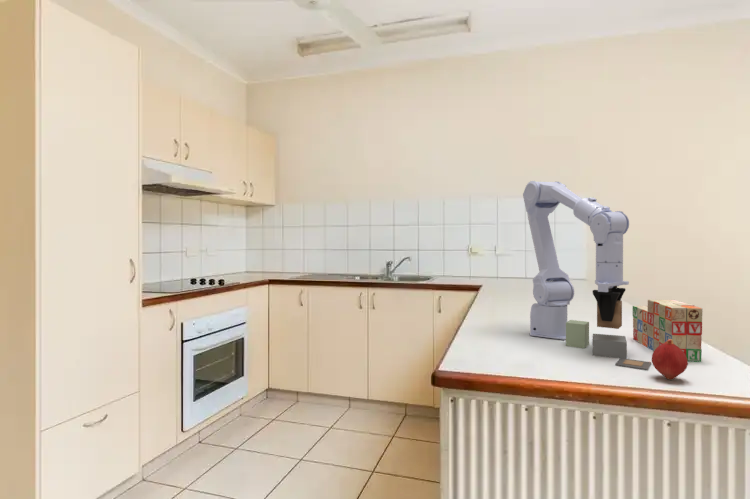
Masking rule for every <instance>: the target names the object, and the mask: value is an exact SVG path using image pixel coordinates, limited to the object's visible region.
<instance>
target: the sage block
mask: <svg viewBox="0 0 750 499" xmlns="http://www.w3.org/2000/svg"><path fill="white" fill-rule="evenodd" d="M565 346H566V347H571V348H579V349H586V348H588V346H590V321H586V320H585V321H583V320H576V319H570V320H567V322H566V339H565Z"/></svg>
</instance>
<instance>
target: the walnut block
mask: <svg viewBox="0 0 750 499" xmlns="http://www.w3.org/2000/svg"><path fill="white" fill-rule="evenodd" d="M622 326H623V301H622V300H621V301H618V300H617V302H616V305H615V310H614V316H613V320H612V321H602V319H601V315H600V311H599V307H598V303H597V302H596V327H597V328H607V329H614V330H615V329H616V330H619V329H620V328H621V327H622Z"/></svg>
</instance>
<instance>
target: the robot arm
mask: <svg viewBox="0 0 750 499" xmlns="http://www.w3.org/2000/svg"><path fill="white" fill-rule="evenodd" d="M522 197H523V202H524V207H525V211H526V213H527V220H528V224H529V229H530V233H531V238H532V242H533V248H534V252H535V258H536V261H537V265H538V270H539V271H538V273H537V274H536V275H535V276H534V278H532V284H533V289H532V294H533V298H534V300H535V303H532V305H531V307H530V314H529V316H530V317H529V318H530V321H529V322H530V323H529V324H530V325H529V326H530V328H529V329H530V331H529V332H530V333H529V336H531V337H532V336H533V337H540V338H547V339H553V340H554V339H557V340H561V341H562V340H563V341H566V322H568V305H570V302H571V301H572V300H573V299H574V296H575V287H574V285H573V284H572V282H571V280H570V277H569V274H568V273H566V272H565V271H564V270H562V269H561V268H560V264H559V260H558V256H557V252H556V248H555V243H554V239H553V234H552V230H551V225H550V221H549V215H550V214H552V213H553V212H554V211H555V210H556V208H558V206H559V205H560V204H562V205H564V206H565V207H568V208H569V209H570V210H573V212H572V213H573V215H574V217H575V218H577V220H580V221H581V222H583V223H584V224H586V225H587V226H588V227H589V229H590V231H591V234H592V236H593V241H594V243H595V280H594V284H595V285H597V289H593V290H592V295H593V296H594V298H595V300H596V304H597V303H598V307H599V311H600V315H601V319H602V321H612V320H613V316H614V310H615V305H616V302H617V300H618V301H622V298H623V295H624V293H625V292H626V288H625V287H620V286H627V285H630V281H628V280H624V235H625V234H626V233H627V232H628V230H629V228H630V220H629V217H628V215H626V213H624V211H621V210H617V211H612V210H611V208H610V207H609V206H607V205H604V204H601V203H599V202H598V201H597V198H596V197H594V196H593V197H590V196H589V197H584V198H582V197H580V196H579V195H578V194H576V193H575V192H574V191H572V190H570V189H569V188H567V185H566V184H565V183H562V182H561V181H535V180H530V181H528V182H527V183H526V185H525V188H524V190H523V193H522Z"/></svg>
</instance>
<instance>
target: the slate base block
mask: <svg viewBox="0 0 750 499" xmlns="http://www.w3.org/2000/svg"><path fill="white" fill-rule="evenodd" d="M591 340H592V342H591V343H592V356H595V357H606V358H615V359H620V358H625V359H628V358H627V357H628V353H627V352H628V347H627V344H628V340H627V338H626V336H625V335H615V334H603V333H592V339H591Z"/></svg>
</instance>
